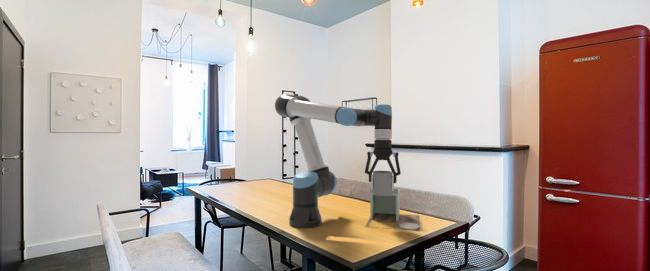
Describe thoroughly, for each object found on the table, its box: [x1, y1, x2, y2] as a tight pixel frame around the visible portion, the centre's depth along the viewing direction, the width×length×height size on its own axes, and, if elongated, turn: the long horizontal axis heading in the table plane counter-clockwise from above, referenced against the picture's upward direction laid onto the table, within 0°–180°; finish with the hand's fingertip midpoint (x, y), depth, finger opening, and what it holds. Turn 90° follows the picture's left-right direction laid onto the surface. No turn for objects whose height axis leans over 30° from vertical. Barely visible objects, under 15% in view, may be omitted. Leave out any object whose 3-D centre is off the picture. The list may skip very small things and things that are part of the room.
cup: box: [372, 170, 393, 196], centre depth 143 cm, size 8×8×10 cm
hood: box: [369, 186, 401, 221], centre depth 156 cm, size 13×12×15 cm
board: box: [364, 213, 421, 232], centre depth 149 cm, size 23×26×2 cm
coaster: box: [399, 223, 419, 229], centre depth 140 cm, size 9×9×1 cm
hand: (382, 189), depth 143 cm, fingers closed on cup, 8 cm apart
